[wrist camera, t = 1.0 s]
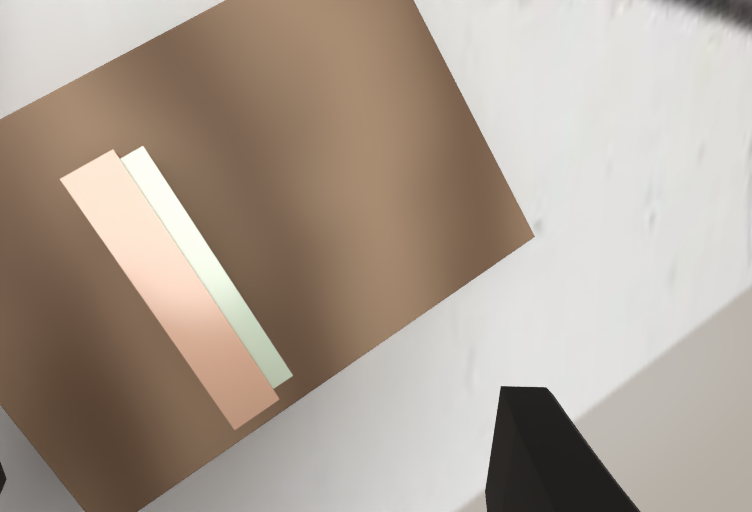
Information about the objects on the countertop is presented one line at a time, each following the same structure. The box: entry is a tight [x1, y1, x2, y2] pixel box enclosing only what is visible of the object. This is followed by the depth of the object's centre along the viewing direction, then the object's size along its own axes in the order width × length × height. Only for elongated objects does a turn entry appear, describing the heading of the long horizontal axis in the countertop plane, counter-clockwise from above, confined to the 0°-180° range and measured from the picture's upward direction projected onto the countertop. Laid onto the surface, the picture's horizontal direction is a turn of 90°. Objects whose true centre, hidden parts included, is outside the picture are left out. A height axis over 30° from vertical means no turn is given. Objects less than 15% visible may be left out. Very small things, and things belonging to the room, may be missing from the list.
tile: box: [60, 146, 293, 430], centre depth 16 cm, size 2×6×6 cm, turn 31°
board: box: [0, 0, 535, 512], centre depth 20 cm, size 16×11×1 cm
